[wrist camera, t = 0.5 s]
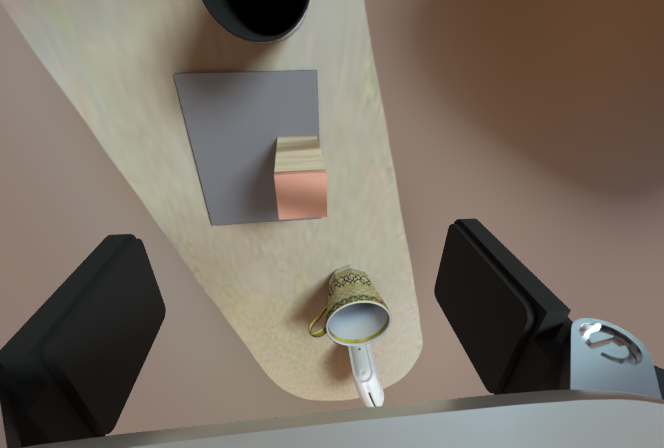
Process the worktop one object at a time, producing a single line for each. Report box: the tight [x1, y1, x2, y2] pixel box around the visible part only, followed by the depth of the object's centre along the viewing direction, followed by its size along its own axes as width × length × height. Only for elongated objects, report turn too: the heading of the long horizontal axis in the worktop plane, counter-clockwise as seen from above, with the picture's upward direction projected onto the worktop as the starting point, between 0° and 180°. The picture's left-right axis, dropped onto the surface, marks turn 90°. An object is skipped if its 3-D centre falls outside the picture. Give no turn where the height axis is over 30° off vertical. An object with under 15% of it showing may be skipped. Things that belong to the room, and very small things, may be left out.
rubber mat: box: [173, 70, 322, 225], centre depth 41 cm, size 20×16×1 cm
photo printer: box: [348, 343, 384, 407], centre depth 60 cm, size 10×4×12 cm, turn 16°
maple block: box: [274, 135, 327, 220], centre depth 36 cm, size 5×5×12 cm
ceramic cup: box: [309, 265, 392, 346], centre depth 51 cm, size 13×10×10 cm
